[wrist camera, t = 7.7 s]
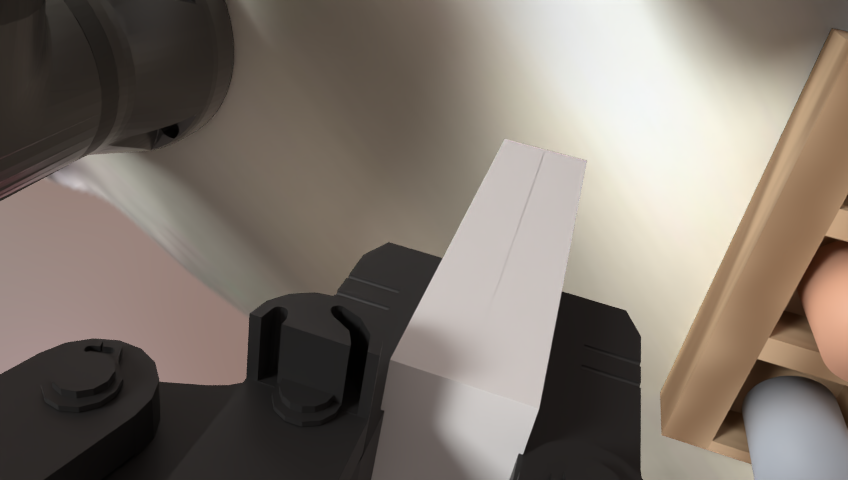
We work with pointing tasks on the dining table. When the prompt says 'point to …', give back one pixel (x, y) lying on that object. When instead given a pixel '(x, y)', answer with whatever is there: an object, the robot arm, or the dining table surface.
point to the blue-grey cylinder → (795, 431)
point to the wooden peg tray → (769, 274)
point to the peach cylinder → (828, 304)
